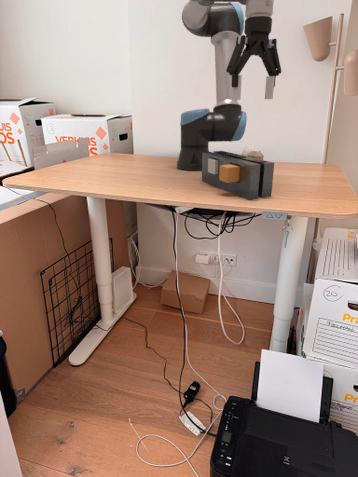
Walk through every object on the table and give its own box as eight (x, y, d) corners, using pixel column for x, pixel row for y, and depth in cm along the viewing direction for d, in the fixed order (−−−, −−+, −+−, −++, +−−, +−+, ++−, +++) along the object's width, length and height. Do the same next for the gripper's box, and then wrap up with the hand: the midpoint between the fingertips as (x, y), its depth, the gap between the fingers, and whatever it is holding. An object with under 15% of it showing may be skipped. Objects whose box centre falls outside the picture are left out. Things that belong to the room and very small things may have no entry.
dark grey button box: (249, 200, 97) (251, 164, 93) (201, 180, 120) (202, 151, 117) (271, 196, 100) (274, 162, 96) (220, 178, 124) (221, 150, 120)
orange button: (227, 182, 99) (227, 167, 97) (219, 179, 102) (219, 165, 101) (239, 181, 100) (240, 166, 99) (231, 178, 104) (232, 164, 102)
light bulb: (255, 175, 128) (257, 145, 123) (238, 174, 130) (239, 145, 126) (259, 172, 133) (262, 143, 129) (243, 170, 136) (245, 142, 132)
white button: (214, 174, 110) (215, 160, 108) (207, 172, 114) (208, 158, 112) (226, 173, 112) (226, 159, 110) (218, 170, 115) (219, 157, 114)
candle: (262, 177, 124) (264, 150, 120) (260, 180, 119) (263, 152, 115) (247, 176, 126) (249, 149, 122) (245, 179, 121) (246, 151, 117)
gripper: (234, 9, 85) (230, 100, 93) (298, 19, 98) (290, 98, 106) (215, 15, 91) (213, 100, 99) (278, 24, 103) (272, 98, 112)
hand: (253, 99), depth 103 cm, fingers open, 13 cm apart
